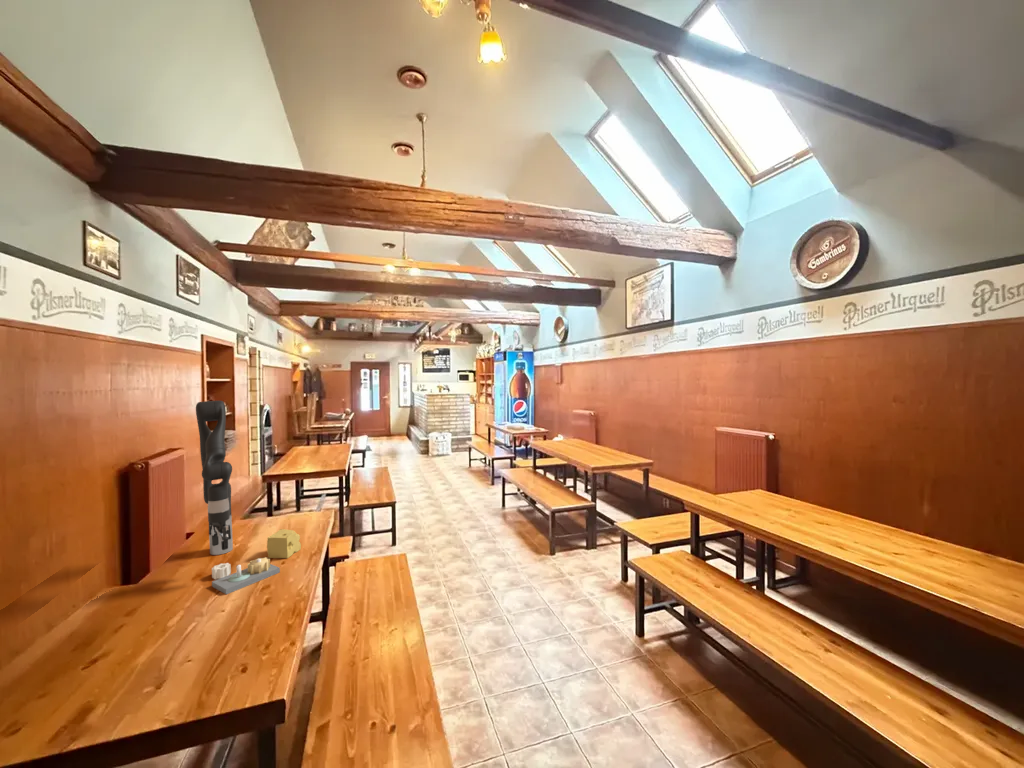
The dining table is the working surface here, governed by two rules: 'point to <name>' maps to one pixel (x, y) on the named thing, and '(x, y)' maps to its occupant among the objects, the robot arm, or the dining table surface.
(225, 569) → the nylon gear
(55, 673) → the dining table surface
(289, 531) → the cheese
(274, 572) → the gear board
